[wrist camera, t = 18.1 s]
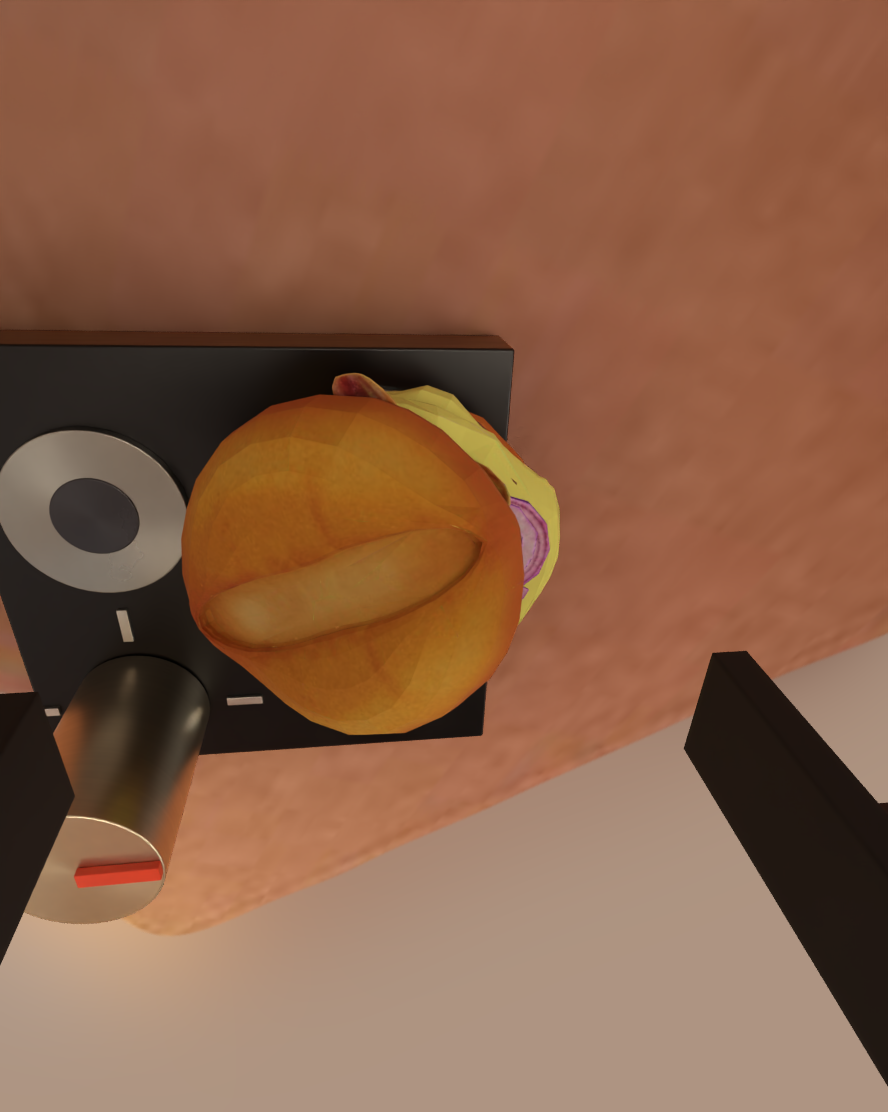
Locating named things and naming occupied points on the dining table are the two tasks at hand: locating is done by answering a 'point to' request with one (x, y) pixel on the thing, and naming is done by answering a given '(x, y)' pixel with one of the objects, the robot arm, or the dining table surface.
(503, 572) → the cheeseburger
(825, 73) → the dining table surface
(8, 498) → the burners
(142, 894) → the stove knob
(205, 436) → the stove
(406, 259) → the dining table surface
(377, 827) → the dining table surface
